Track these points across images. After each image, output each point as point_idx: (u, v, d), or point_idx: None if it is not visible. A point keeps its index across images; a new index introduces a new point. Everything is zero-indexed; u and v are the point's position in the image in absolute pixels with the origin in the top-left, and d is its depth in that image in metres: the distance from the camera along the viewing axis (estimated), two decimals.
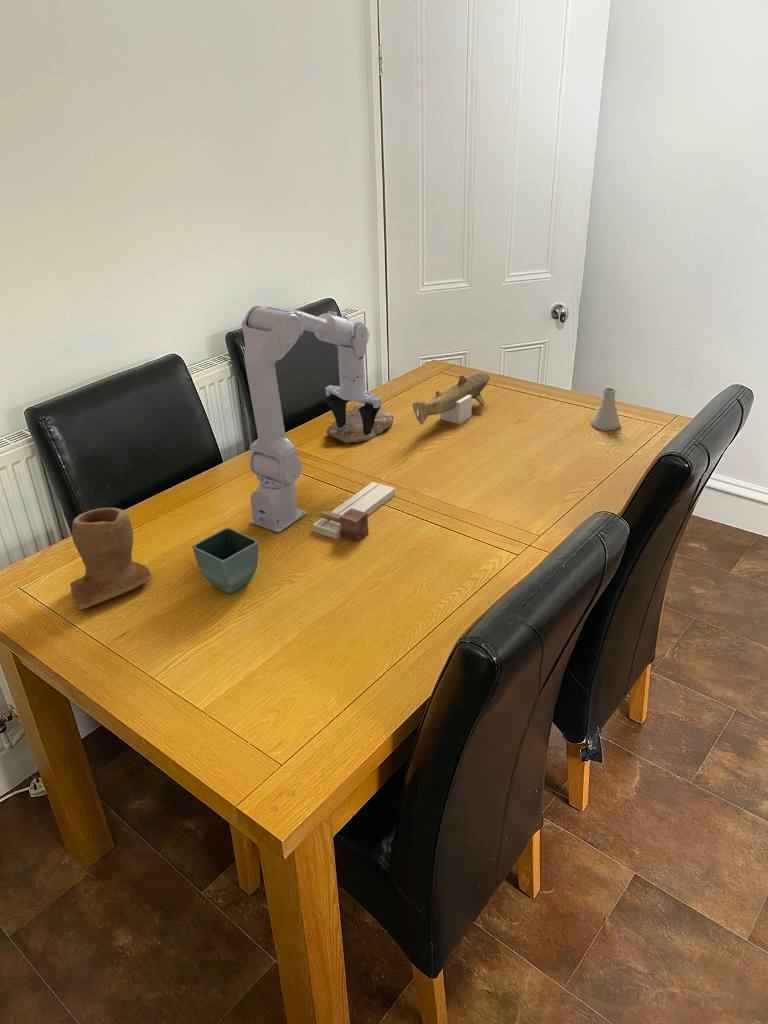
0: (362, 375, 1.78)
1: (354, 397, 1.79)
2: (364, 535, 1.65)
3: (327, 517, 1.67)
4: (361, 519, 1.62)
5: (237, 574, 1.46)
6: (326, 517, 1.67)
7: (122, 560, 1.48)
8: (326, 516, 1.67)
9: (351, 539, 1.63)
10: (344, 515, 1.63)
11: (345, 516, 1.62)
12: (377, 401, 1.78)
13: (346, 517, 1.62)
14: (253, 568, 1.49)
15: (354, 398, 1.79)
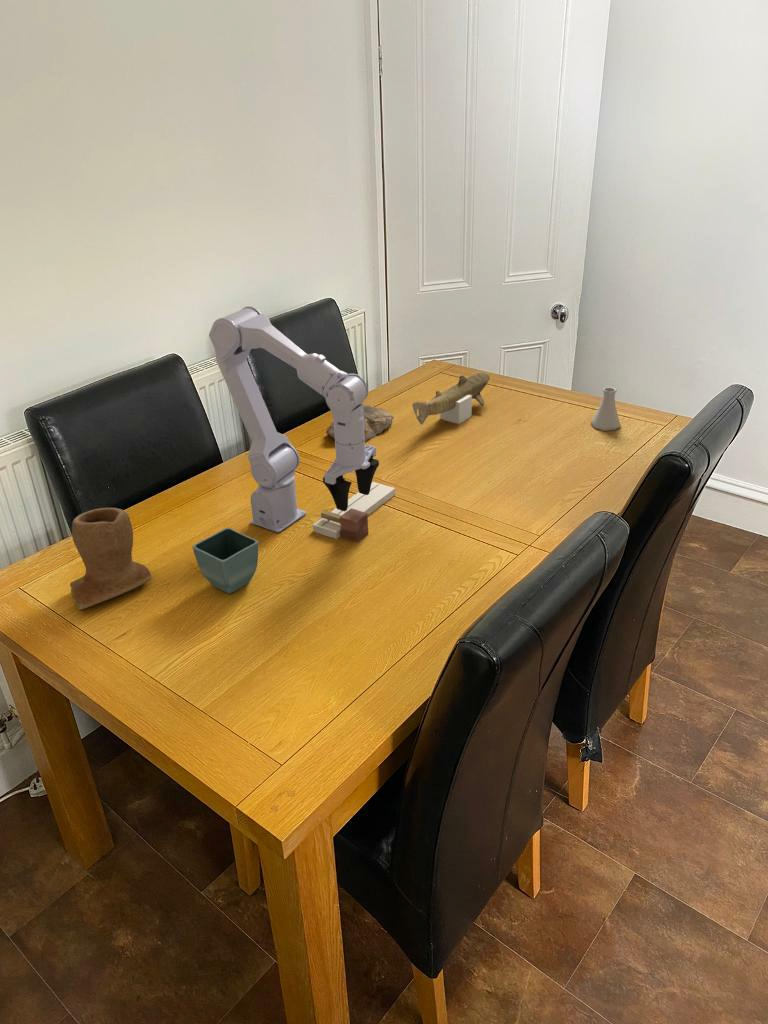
0: (341, 444, 1.52)
1: (335, 461, 1.56)
2: (364, 535, 1.65)
3: (327, 517, 1.67)
4: (361, 519, 1.62)
5: (237, 574, 1.46)
6: (326, 517, 1.67)
7: (122, 560, 1.48)
8: (326, 516, 1.67)
9: (351, 539, 1.63)
10: (344, 515, 1.63)
11: (345, 516, 1.62)
12: (326, 475, 1.52)
13: (346, 517, 1.62)
14: (253, 568, 1.49)
15: (334, 462, 1.56)
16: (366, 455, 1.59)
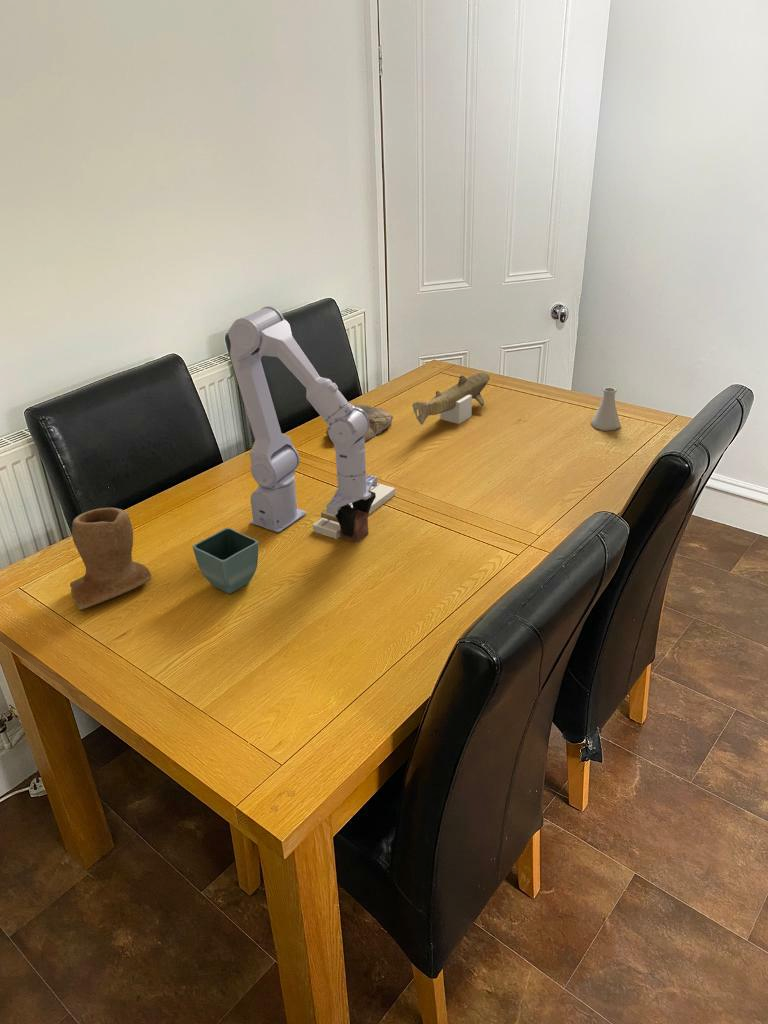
0: (343, 475, 1.56)
1: (336, 491, 1.59)
2: (364, 535, 1.64)
3: (327, 517, 1.66)
4: (361, 519, 1.62)
5: (237, 574, 1.46)
6: (326, 517, 1.67)
7: (122, 560, 1.48)
8: (326, 516, 1.67)
9: (351, 539, 1.63)
10: None
11: None
12: (328, 506, 1.55)
13: None
14: (253, 568, 1.49)
15: (336, 492, 1.60)
16: (367, 485, 1.63)
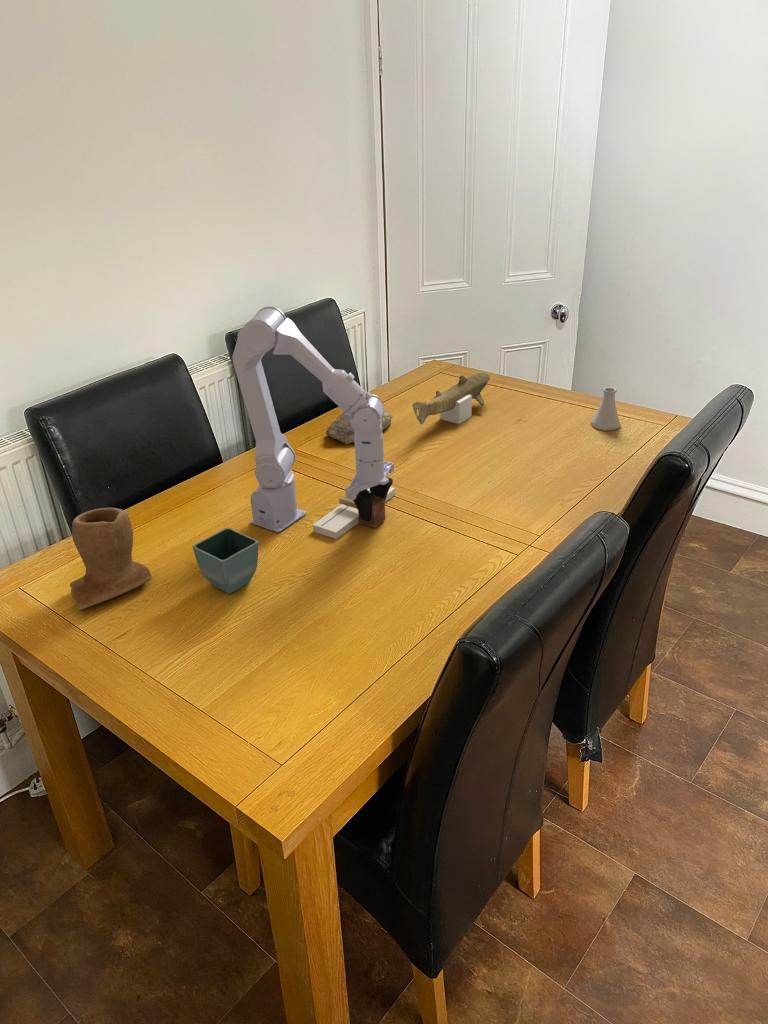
0: (361, 461, 1.60)
1: (355, 477, 1.64)
2: (381, 520, 1.69)
3: (345, 503, 1.71)
4: (379, 504, 1.66)
5: (237, 574, 1.46)
6: (344, 503, 1.71)
7: (122, 560, 1.48)
8: (344, 502, 1.71)
9: (369, 524, 1.67)
10: None
11: None
12: (347, 491, 1.59)
13: None
14: (253, 568, 1.49)
15: (354, 478, 1.64)
16: (384, 471, 1.67)
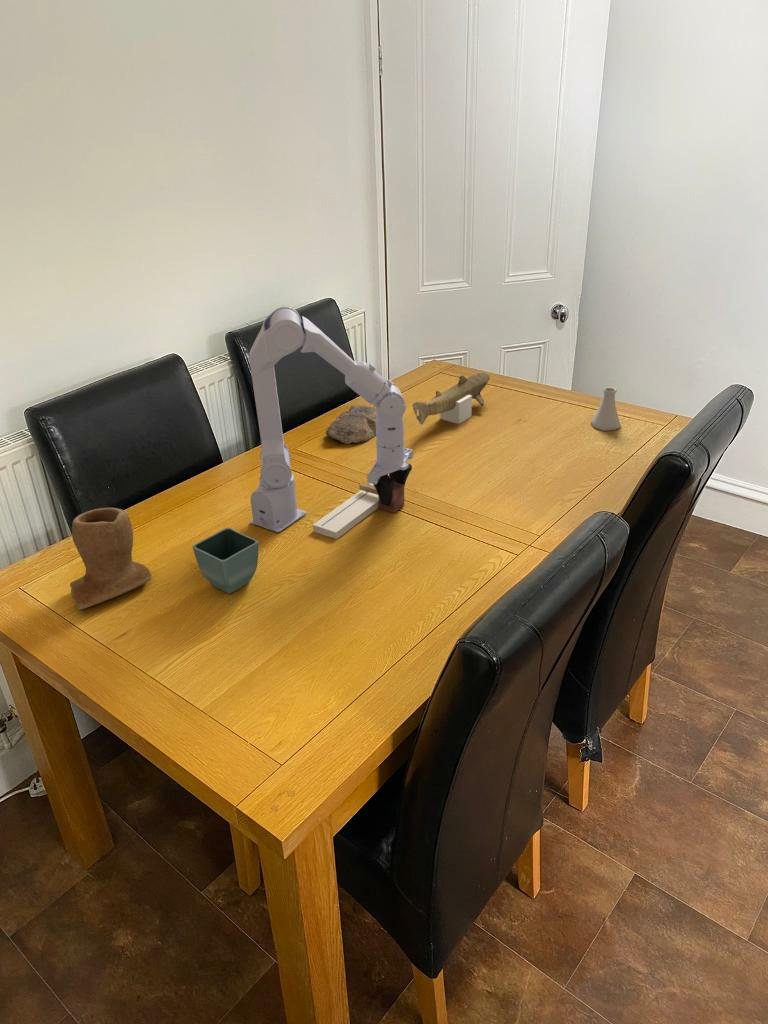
0: (383, 447, 1.65)
1: (376, 463, 1.69)
2: (401, 505, 1.74)
3: (365, 489, 1.76)
4: (398, 490, 1.72)
5: (237, 574, 1.46)
6: (364, 489, 1.76)
7: (122, 560, 1.48)
8: (364, 488, 1.76)
9: (389, 509, 1.73)
10: None
11: None
12: (368, 476, 1.65)
13: None
14: (253, 568, 1.49)
15: (375, 463, 1.69)
16: (404, 457, 1.72)
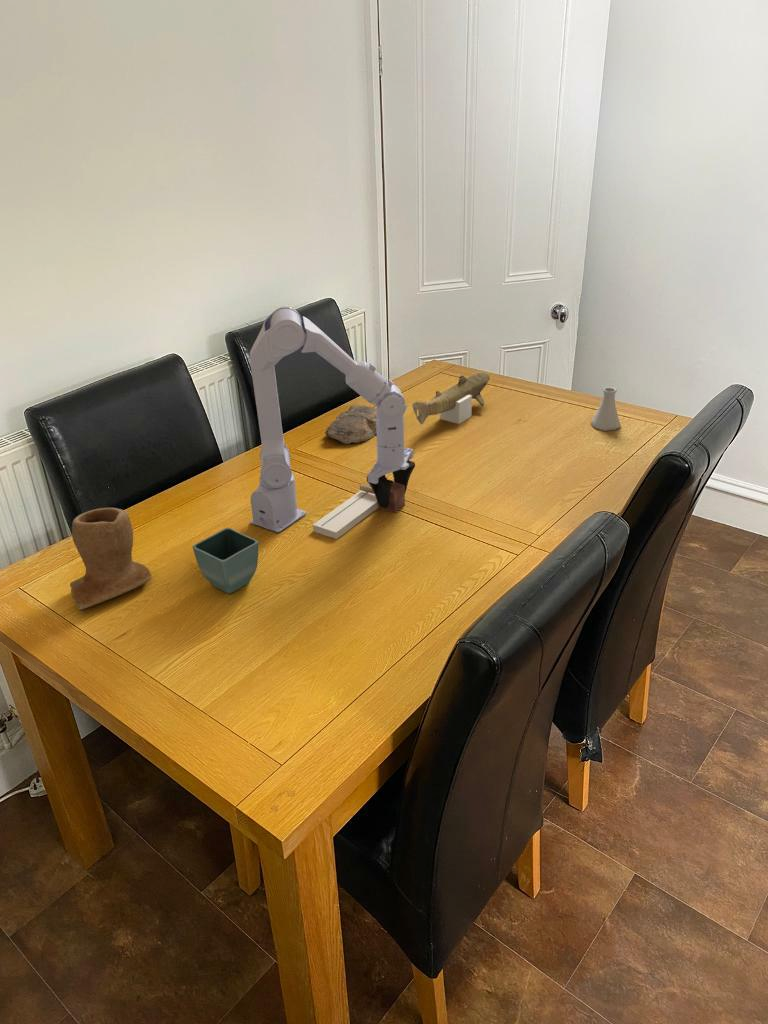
0: (383, 446, 1.65)
1: (376, 462, 1.69)
2: (401, 506, 1.74)
3: (366, 489, 1.77)
4: (399, 490, 1.72)
5: (237, 574, 1.46)
6: (365, 489, 1.77)
7: (122, 560, 1.48)
8: (365, 488, 1.77)
9: (389, 509, 1.73)
10: None
11: None
12: (369, 476, 1.65)
13: None
14: (253, 568, 1.49)
15: None
16: (404, 457, 1.72)
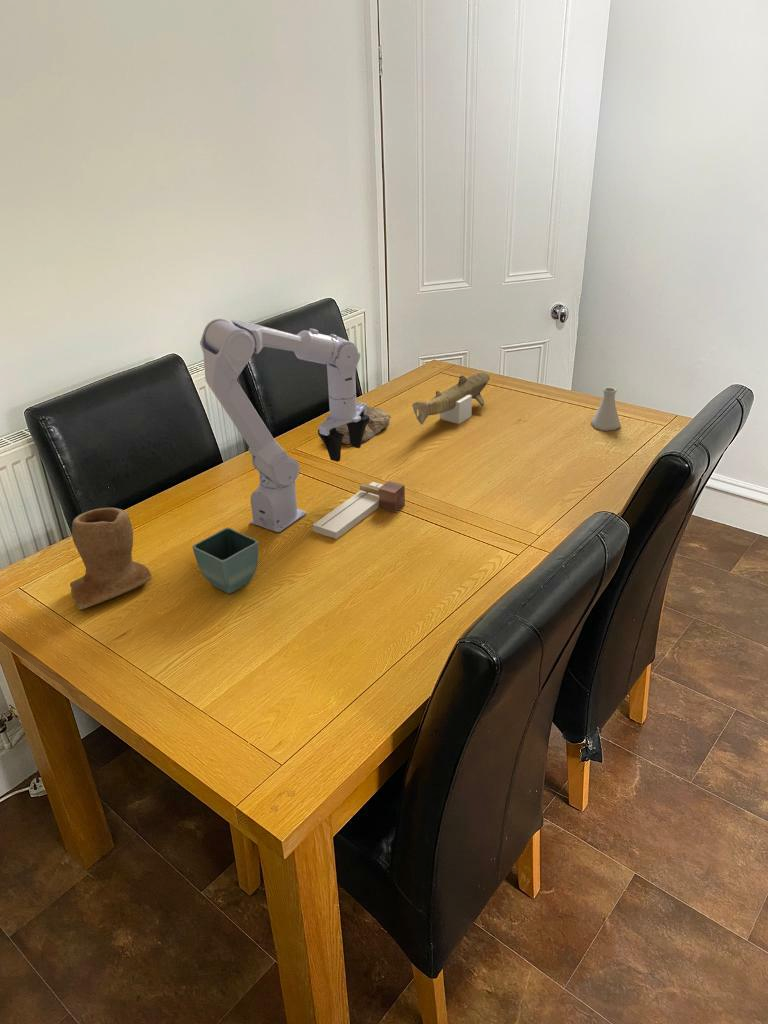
0: (334, 398, 1.67)
1: (329, 415, 1.71)
2: (401, 506, 1.74)
3: (366, 489, 1.77)
4: (399, 490, 1.72)
5: (237, 574, 1.46)
6: (365, 489, 1.77)
7: (122, 560, 1.48)
8: (365, 488, 1.77)
9: (389, 509, 1.73)
10: (383, 487, 1.73)
11: (384, 488, 1.72)
12: (320, 427, 1.67)
13: (385, 488, 1.72)
14: (253, 568, 1.49)
15: (328, 416, 1.71)
16: (357, 411, 1.74)
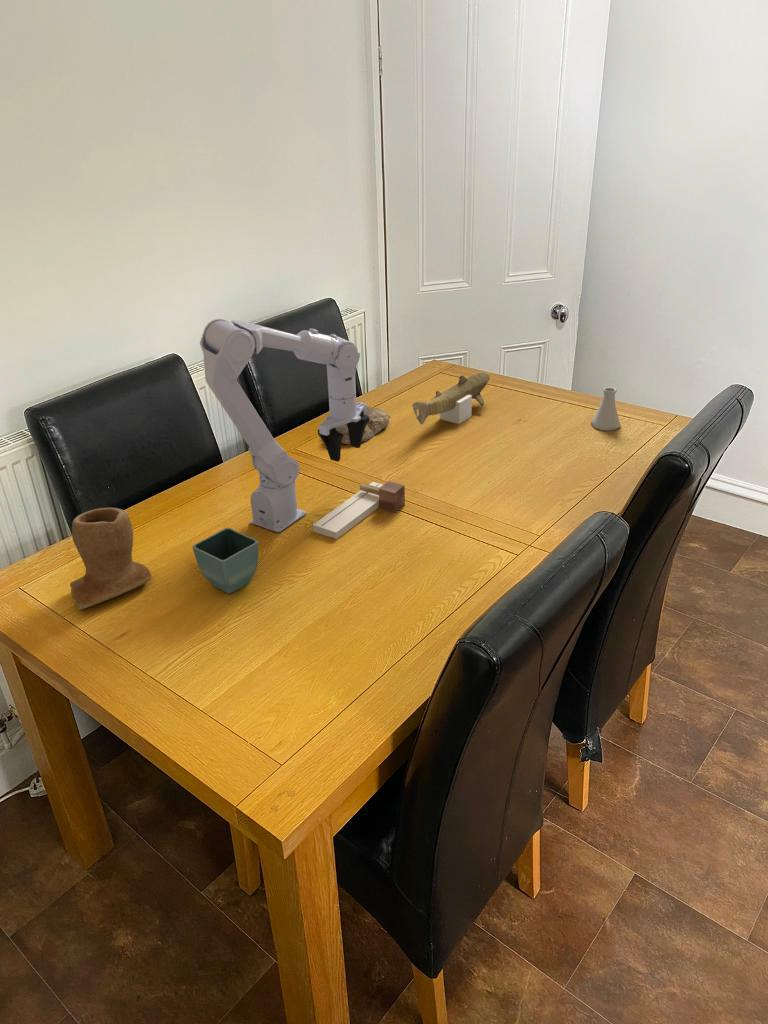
0: (334, 398, 1.67)
1: (328, 415, 1.71)
2: (401, 506, 1.74)
3: (366, 489, 1.76)
4: (399, 490, 1.72)
5: (237, 574, 1.46)
6: (365, 489, 1.77)
7: (122, 560, 1.48)
8: (365, 488, 1.77)
9: (389, 509, 1.73)
10: (383, 487, 1.73)
11: (384, 488, 1.72)
12: (320, 427, 1.67)
13: (385, 489, 1.72)
14: (253, 568, 1.49)
15: (328, 416, 1.71)
16: (357, 410, 1.74)
